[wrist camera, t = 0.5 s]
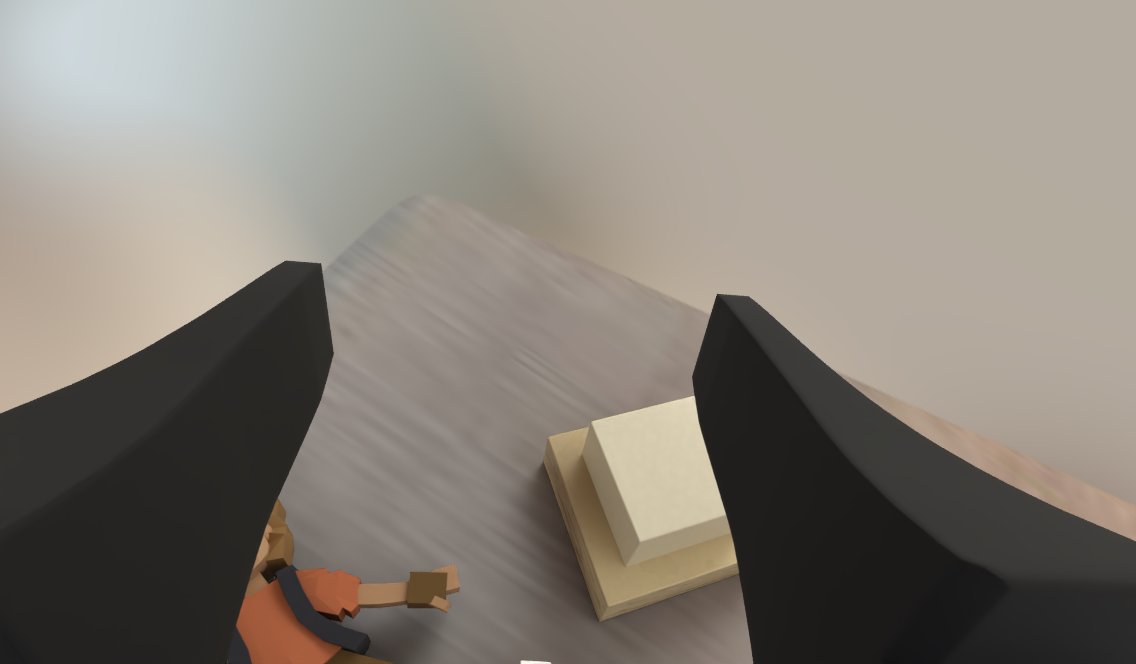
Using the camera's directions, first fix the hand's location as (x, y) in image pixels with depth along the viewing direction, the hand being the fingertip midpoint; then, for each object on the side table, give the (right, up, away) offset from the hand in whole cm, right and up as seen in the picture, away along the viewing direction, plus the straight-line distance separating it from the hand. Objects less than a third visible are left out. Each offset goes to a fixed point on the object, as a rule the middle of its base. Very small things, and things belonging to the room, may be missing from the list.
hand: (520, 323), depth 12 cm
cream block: (+5, -7, +17) cm, 19 cm away
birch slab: (+5, -9, +19) cm, 22 cm away
